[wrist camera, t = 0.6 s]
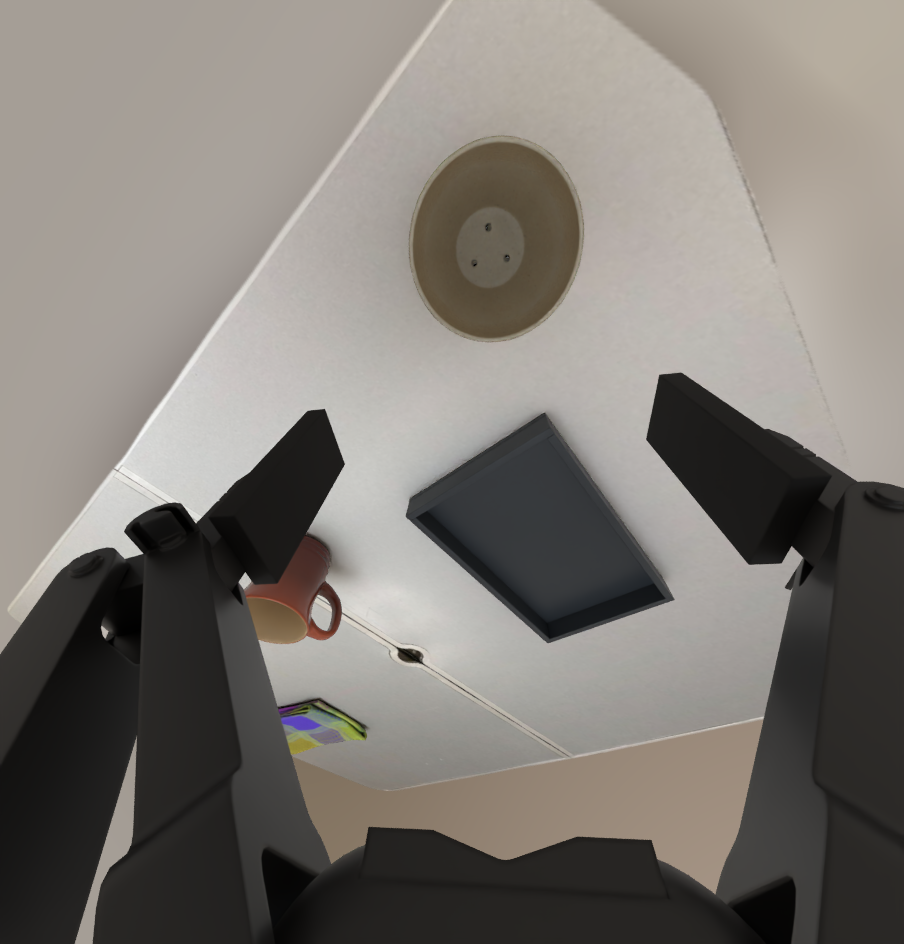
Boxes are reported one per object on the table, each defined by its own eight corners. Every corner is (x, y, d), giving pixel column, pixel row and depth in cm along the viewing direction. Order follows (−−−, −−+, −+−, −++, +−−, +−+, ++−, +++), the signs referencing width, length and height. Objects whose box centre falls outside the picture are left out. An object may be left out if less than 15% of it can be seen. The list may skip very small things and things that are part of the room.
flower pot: (533, 331, 29) (548, 356, 23) (415, 305, 29) (399, 324, 23) (581, 179, 24) (616, 161, 18) (435, 143, 23) (421, 112, 17)
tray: (409, 498, 40) (405, 516, 38) (544, 412, 33) (550, 427, 31) (544, 623, 52) (547, 643, 50) (663, 579, 45) (674, 600, 43)
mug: (261, 551, 47) (213, 621, 38) (289, 515, 43) (243, 584, 34) (339, 591, 51) (311, 663, 42) (372, 561, 47) (349, 634, 38)
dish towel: (372, 729, 78) (369, 744, 76) (296, 745, 87) (292, 759, 84) (317, 696, 70) (311, 711, 68) (239, 717, 79) (232, 731, 76)
